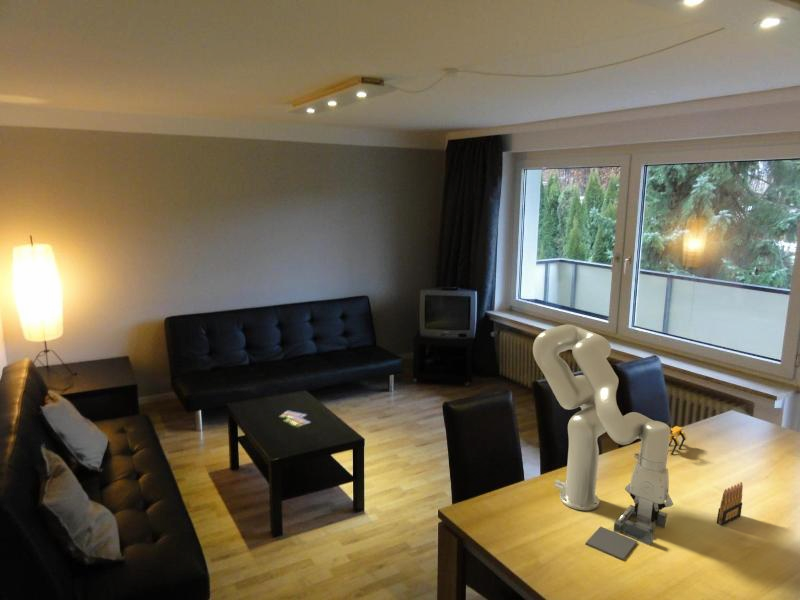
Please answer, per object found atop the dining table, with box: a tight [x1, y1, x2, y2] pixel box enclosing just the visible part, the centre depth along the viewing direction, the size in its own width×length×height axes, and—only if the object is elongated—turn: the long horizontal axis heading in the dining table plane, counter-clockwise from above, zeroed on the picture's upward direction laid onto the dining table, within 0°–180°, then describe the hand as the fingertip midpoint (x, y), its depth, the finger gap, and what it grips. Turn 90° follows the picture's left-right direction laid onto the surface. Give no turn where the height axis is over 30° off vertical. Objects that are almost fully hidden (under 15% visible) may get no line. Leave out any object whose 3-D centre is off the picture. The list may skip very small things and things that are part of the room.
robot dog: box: [666, 421, 688, 456], centre depth 228 cm, size 6×18×13 cm, turn 133°
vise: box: [613, 504, 668, 546], centre depth 177 cm, size 11×14×4 cm
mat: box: [585, 526, 638, 561], centre depth 169 cm, size 11×11×1 cm
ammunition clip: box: [716, 481, 743, 527], centre depth 181 cm, size 11×2×12 cm, turn 122°
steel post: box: [635, 497, 656, 530], centre depth 175 cm, size 4×7×12 cm, turn 139°
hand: (645, 516), depth 175 cm, fingers closed on steel post, 4 cm apart
